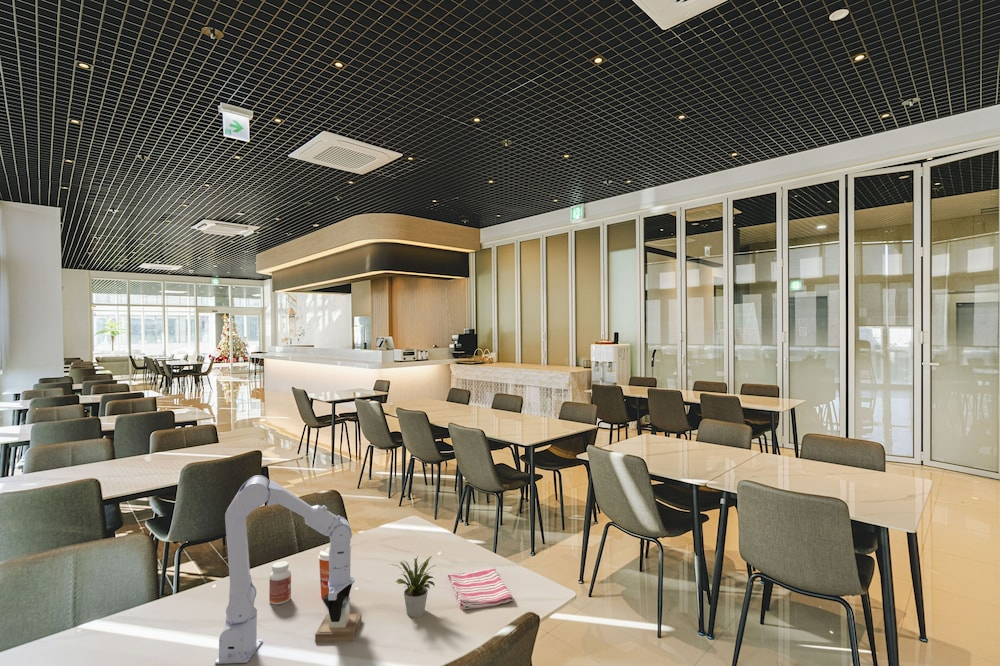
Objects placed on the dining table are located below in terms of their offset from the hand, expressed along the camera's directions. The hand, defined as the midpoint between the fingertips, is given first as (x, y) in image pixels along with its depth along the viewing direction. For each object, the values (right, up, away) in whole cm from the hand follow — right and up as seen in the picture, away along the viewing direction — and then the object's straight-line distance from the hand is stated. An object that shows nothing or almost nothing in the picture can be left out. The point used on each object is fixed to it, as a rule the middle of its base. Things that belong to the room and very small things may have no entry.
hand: (339, 613), depth 139 cm
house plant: (+19, -5, +9) cm, 21 cm away
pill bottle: (-24, -5, +17) cm, 30 cm away
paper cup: (-9, -5, +19) cm, 22 cm away
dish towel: (+38, -6, +24) cm, 45 cm away
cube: (0, -3, 0) cm, 3 cm away
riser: (0, -5, 0) cm, 5 cm away
